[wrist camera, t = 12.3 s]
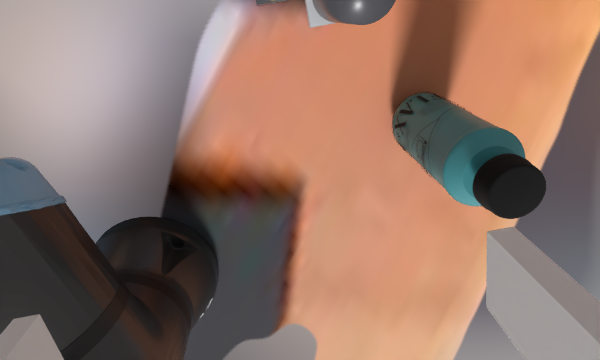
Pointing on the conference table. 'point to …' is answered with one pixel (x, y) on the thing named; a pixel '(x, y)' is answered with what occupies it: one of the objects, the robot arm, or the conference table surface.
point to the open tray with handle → (346, 11)
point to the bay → (267, 2)
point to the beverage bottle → (469, 156)
